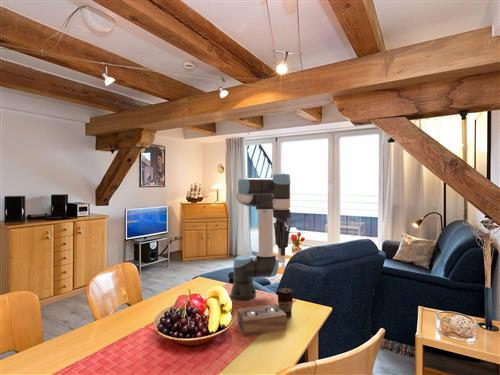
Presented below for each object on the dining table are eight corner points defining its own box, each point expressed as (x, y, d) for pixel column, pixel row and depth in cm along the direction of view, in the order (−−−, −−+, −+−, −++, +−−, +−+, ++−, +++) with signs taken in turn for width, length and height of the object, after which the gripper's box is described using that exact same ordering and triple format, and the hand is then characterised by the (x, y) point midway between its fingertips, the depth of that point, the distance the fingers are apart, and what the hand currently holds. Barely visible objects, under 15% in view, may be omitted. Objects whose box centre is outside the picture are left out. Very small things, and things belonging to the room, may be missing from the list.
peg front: (245, 323, 130) (245, 311, 130) (254, 322, 131) (254, 310, 131) (248, 328, 126) (248, 315, 126) (256, 326, 127) (256, 313, 127)
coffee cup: (294, 319, 136) (294, 293, 136) (277, 319, 136) (277, 293, 136) (292, 311, 145) (292, 286, 145) (276, 311, 145) (276, 286, 145)
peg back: (266, 320, 133) (265, 308, 133) (273, 319, 134) (273, 307, 134) (269, 324, 129) (269, 311, 129) (277, 323, 130) (277, 310, 130)
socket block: (237, 323, 133) (237, 309, 133) (276, 317, 139) (276, 303, 138) (244, 337, 121) (244, 321, 121) (286, 329, 127) (286, 314, 127)
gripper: (268, 207, 126) (268, 259, 127) (279, 210, 114) (279, 267, 114) (283, 207, 129) (283, 257, 129) (296, 209, 116) (296, 265, 117)
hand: (281, 262), depth 122 cm, fingers closed
